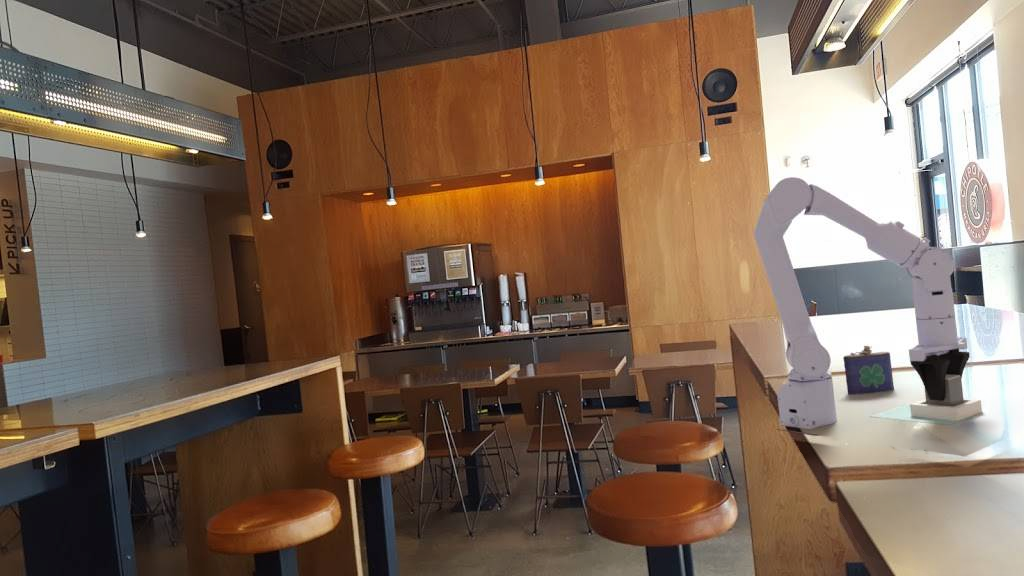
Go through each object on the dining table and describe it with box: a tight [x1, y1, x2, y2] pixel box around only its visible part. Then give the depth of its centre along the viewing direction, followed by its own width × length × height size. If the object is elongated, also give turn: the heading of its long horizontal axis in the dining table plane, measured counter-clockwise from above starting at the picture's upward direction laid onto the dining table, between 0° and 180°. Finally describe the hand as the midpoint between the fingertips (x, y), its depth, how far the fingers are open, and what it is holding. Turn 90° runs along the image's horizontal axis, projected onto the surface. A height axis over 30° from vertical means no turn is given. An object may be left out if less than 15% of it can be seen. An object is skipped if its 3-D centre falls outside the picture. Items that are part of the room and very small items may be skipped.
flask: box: [843, 345, 895, 395], centre depth 142 cm, size 9×3×11 cm, turn 88°
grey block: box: [924, 374, 965, 407], centre depth 117 cm, size 4×4×5 cm
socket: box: [909, 398, 983, 422], centre depth 117 cm, size 8×8×2 cm
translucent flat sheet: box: [869, 404, 983, 426], centre depth 118 cm, size 11×13×1 cm
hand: (944, 397), depth 117 cm, fingers open, 4 cm apart
